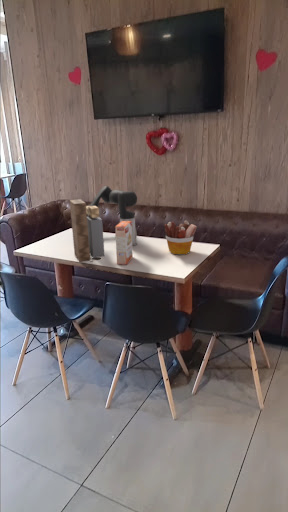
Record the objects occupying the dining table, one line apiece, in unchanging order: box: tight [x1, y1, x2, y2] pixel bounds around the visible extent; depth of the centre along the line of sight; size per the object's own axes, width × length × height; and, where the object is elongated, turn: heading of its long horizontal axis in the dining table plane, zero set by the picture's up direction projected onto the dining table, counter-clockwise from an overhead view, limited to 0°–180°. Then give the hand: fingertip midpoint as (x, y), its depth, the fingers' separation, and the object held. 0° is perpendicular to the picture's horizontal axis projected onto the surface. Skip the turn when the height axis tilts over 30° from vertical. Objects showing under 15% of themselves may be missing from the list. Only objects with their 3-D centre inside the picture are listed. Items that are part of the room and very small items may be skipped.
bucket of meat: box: [163, 220, 198, 255], centre depth 207 cm, size 20×16×20 cm
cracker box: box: [114, 221, 134, 266], centre depth 196 cm, size 14×6×21 cm, turn 168°
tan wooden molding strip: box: [86, 205, 100, 218], centre depth 208 cm, size 4×24×5 cm, turn 21°
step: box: [87, 216, 105, 259], centre depth 209 cm, size 6×12×22 cm, turn 21°
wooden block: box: [69, 198, 91, 263], centre depth 201 cm, size 6×14×32 cm, turn 21°
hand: (87, 207), depth 214 cm, fingers closed on tan wooden molding strip, 3 cm apart
